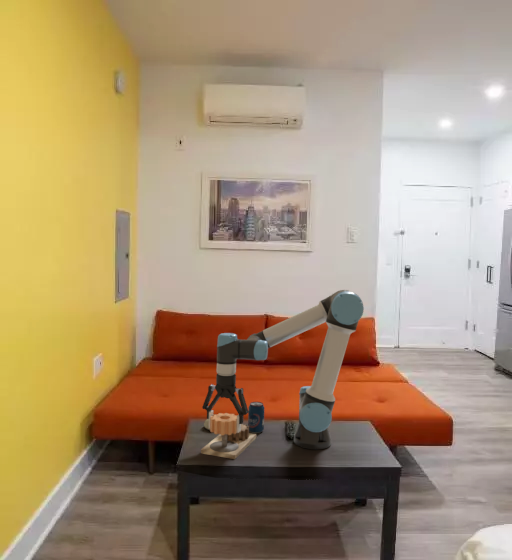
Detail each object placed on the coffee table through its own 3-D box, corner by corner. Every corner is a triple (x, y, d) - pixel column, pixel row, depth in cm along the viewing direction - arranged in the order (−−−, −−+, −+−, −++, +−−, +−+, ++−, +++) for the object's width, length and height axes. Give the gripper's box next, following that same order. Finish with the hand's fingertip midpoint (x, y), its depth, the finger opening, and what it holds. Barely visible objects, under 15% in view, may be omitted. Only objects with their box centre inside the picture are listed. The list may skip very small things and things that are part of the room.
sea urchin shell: (226, 420, 222) (225, 411, 216) (224, 437, 217) (222, 428, 211) (206, 419, 223) (204, 410, 217) (204, 435, 218) (201, 427, 212)
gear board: (256, 437, 207) (256, 420, 206) (235, 459, 184) (235, 439, 184) (225, 433, 211) (225, 415, 211) (200, 453, 188) (201, 434, 188)
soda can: (245, 432, 213) (246, 404, 213) (251, 427, 220) (251, 400, 219) (260, 434, 211) (261, 406, 210) (265, 429, 217) (266, 402, 217)
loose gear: (232, 436, 185) (232, 423, 184) (205, 432, 188) (205, 419, 188) (242, 427, 195) (243, 415, 195) (217, 423, 199) (217, 411, 198)
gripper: (258, 374, 190) (256, 430, 191) (202, 368, 198) (201, 422, 199) (251, 379, 183) (249, 437, 184) (194, 372, 191) (193, 428, 192)
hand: (224, 429), depth 192 cm, fingers closed on loose gear, 11 cm apart
